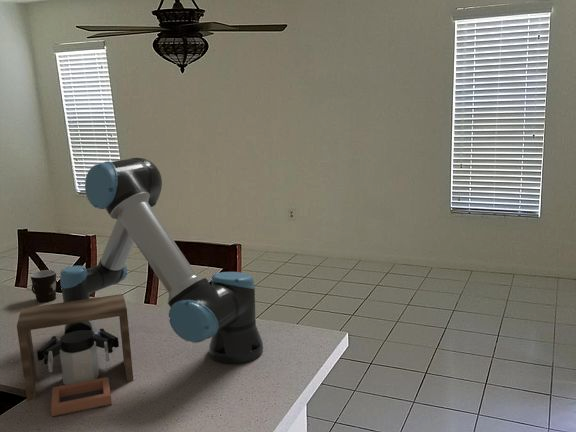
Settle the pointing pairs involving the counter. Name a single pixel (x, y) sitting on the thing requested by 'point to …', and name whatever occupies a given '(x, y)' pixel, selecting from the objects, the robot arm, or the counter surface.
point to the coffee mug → (44, 285)
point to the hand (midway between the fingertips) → (79, 361)
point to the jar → (78, 357)
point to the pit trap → (80, 396)
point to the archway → (68, 315)
